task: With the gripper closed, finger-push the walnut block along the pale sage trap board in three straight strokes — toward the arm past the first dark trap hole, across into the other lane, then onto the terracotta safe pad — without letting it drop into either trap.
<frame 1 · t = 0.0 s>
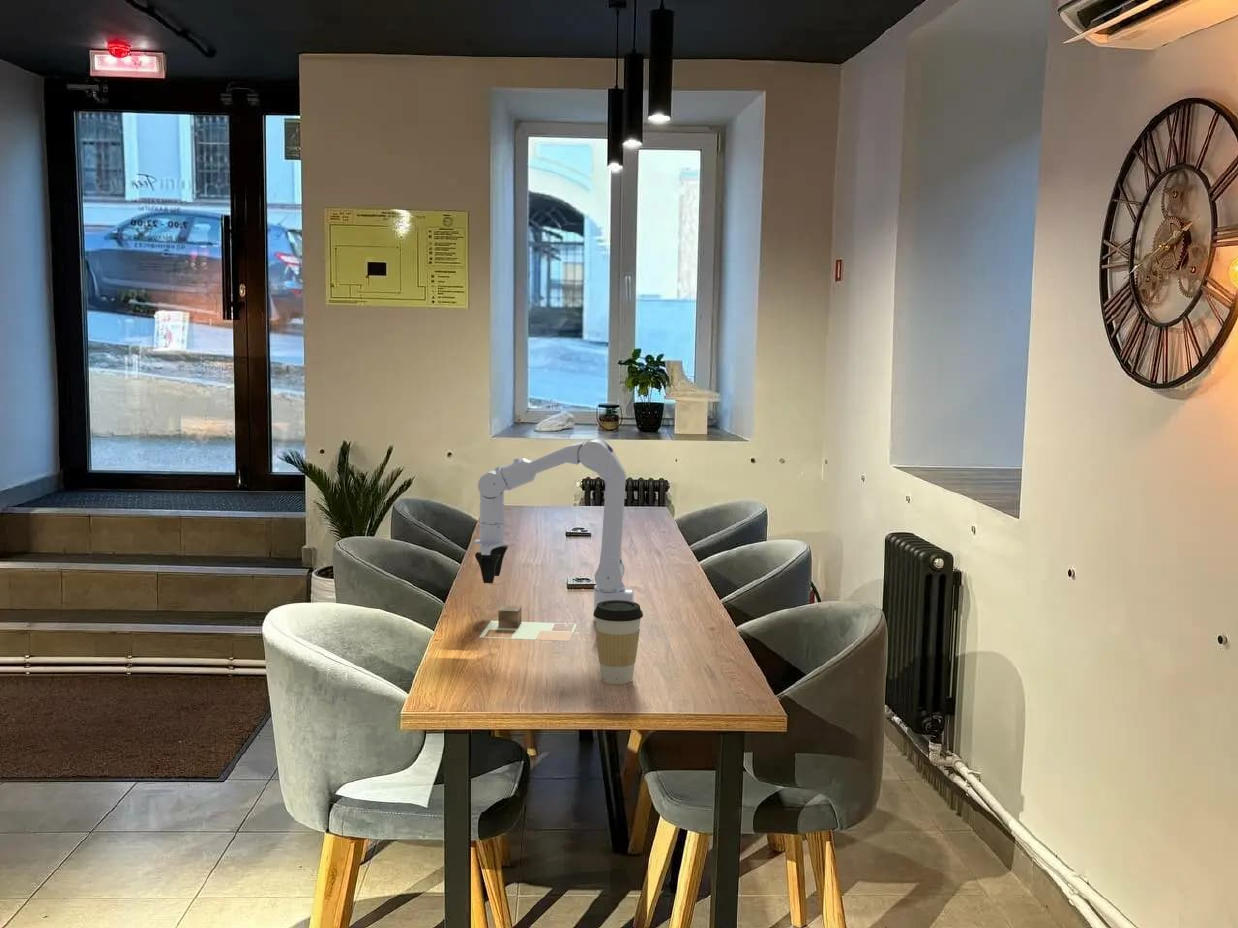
hand: (491, 579, 250), 10 cm above the table, fingers open, 7 cm apart
block: (509, 625, 242), point 1 cm above the table, touching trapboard
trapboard: (529, 636, 238), on the table
coffee cup: (616, 680, 210), on the table
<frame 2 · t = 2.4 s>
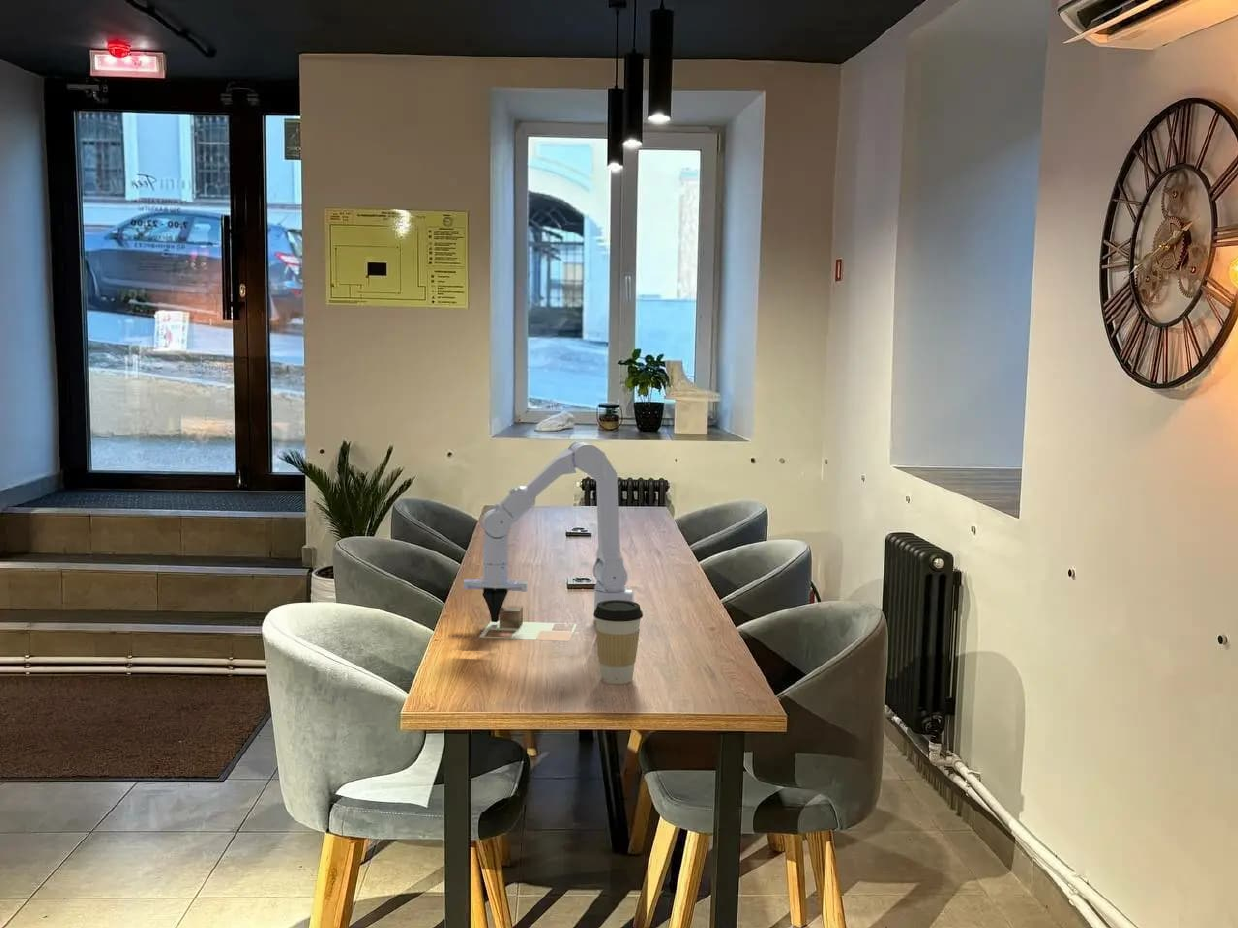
hand: (495, 620, 242), 2 cm above the table, fingers closed
block: (511, 625, 242), point 2 cm above the table, touching gripper
everything else where it was.
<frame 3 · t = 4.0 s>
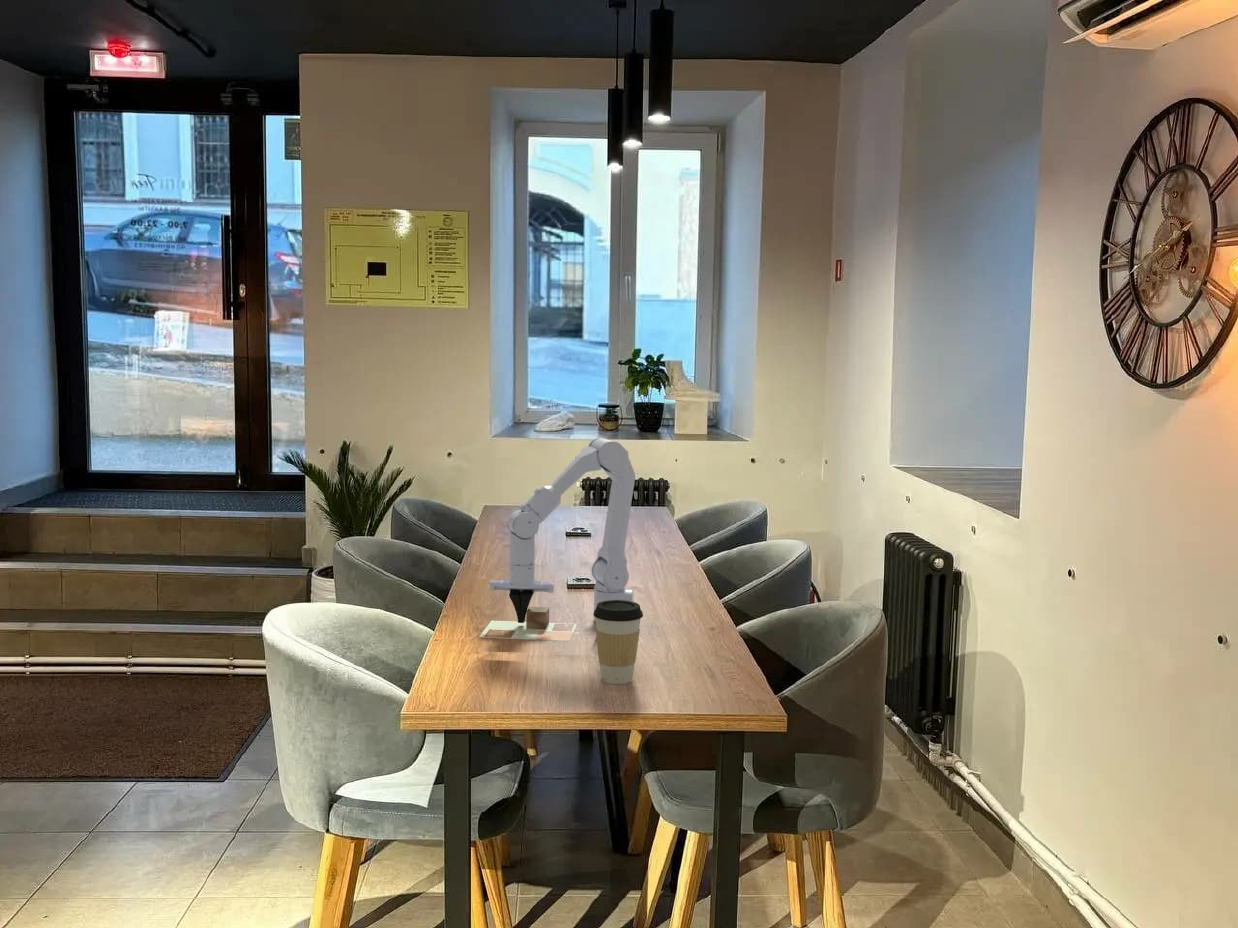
hand: (521, 621, 242), 2 cm above the table, fingers closed
block: (537, 626, 241), point 2 cm above the table, touching gripper, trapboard
everything else where it was.
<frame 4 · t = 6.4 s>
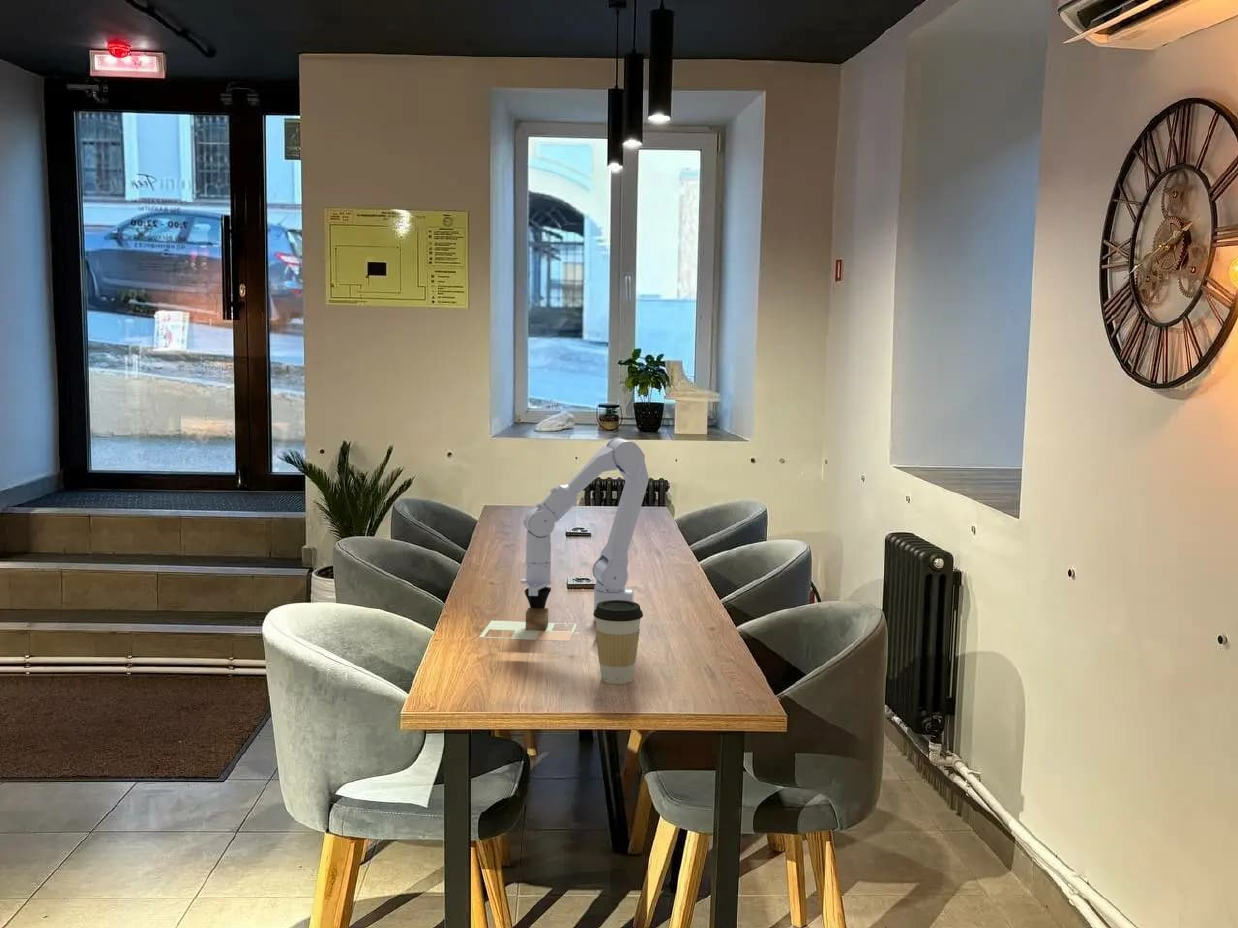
hand: (537, 619, 244), 2 cm above the table, fingers closed
block: (536, 627, 240), point 2 cm above the table, touching gripper
everything else where it was.
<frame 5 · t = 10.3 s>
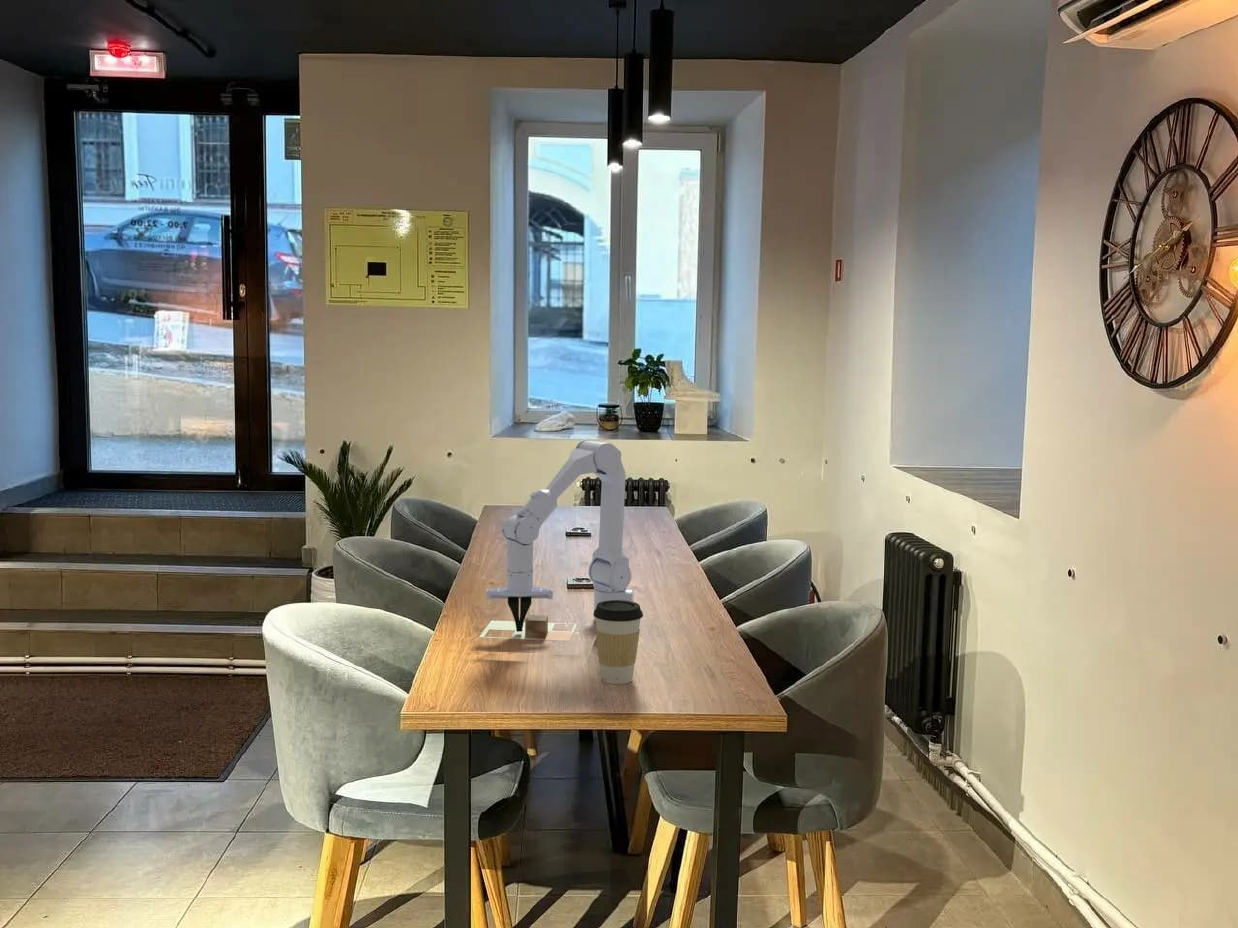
hand: (519, 630, 235), 2 cm above the table, fingers closed
block: (536, 635, 234), point 2 cm above the table, touching gripper
everything else where it was.
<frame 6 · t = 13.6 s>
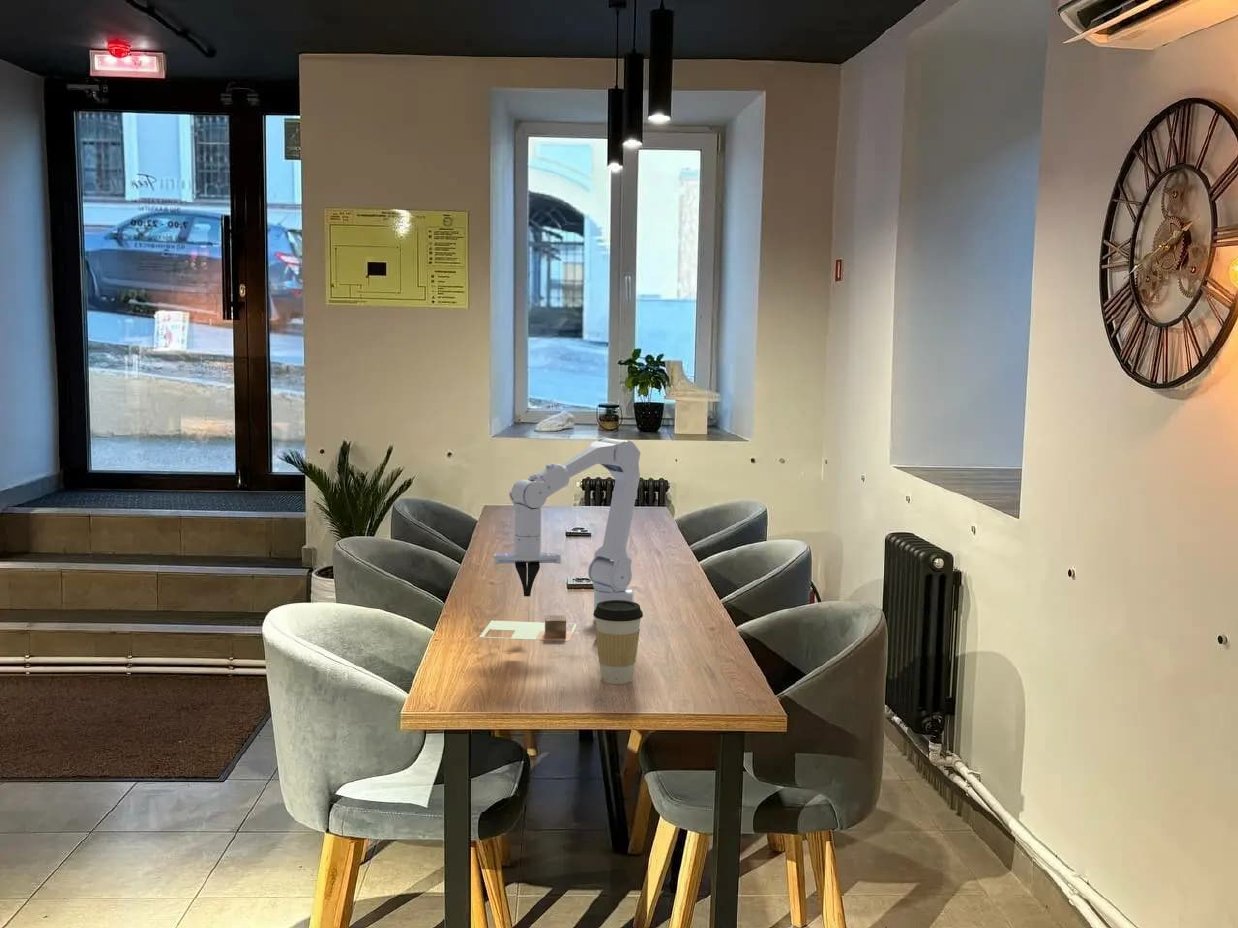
hand: (527, 595, 234), 10 cm above the table, fingers closed
block: (555, 635, 234), point 1 cm above the table, touching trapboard
everything else where it was.
at the end: block inside the target area on the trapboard (0.4 cm from its centre), point 1.5 cm above the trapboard's base; block tilted 0° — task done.
